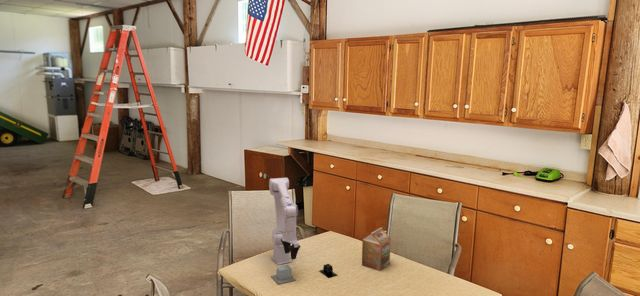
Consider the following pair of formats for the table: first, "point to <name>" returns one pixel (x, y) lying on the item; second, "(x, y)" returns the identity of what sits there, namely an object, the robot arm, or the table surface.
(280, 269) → the brick
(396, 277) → the table surface
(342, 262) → the table surface
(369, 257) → the milk carton
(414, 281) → the table surface
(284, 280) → the mat
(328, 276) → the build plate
